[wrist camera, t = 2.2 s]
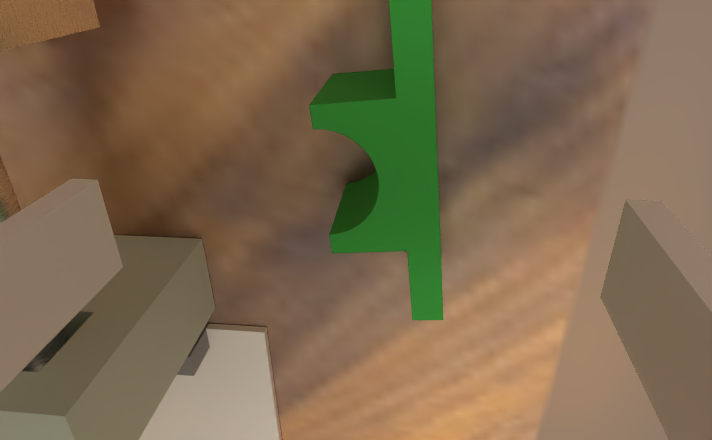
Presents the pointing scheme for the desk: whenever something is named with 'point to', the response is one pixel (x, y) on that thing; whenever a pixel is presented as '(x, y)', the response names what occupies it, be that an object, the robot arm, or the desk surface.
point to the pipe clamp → (392, 155)
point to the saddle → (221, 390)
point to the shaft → (21, 27)
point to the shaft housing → (117, 348)
